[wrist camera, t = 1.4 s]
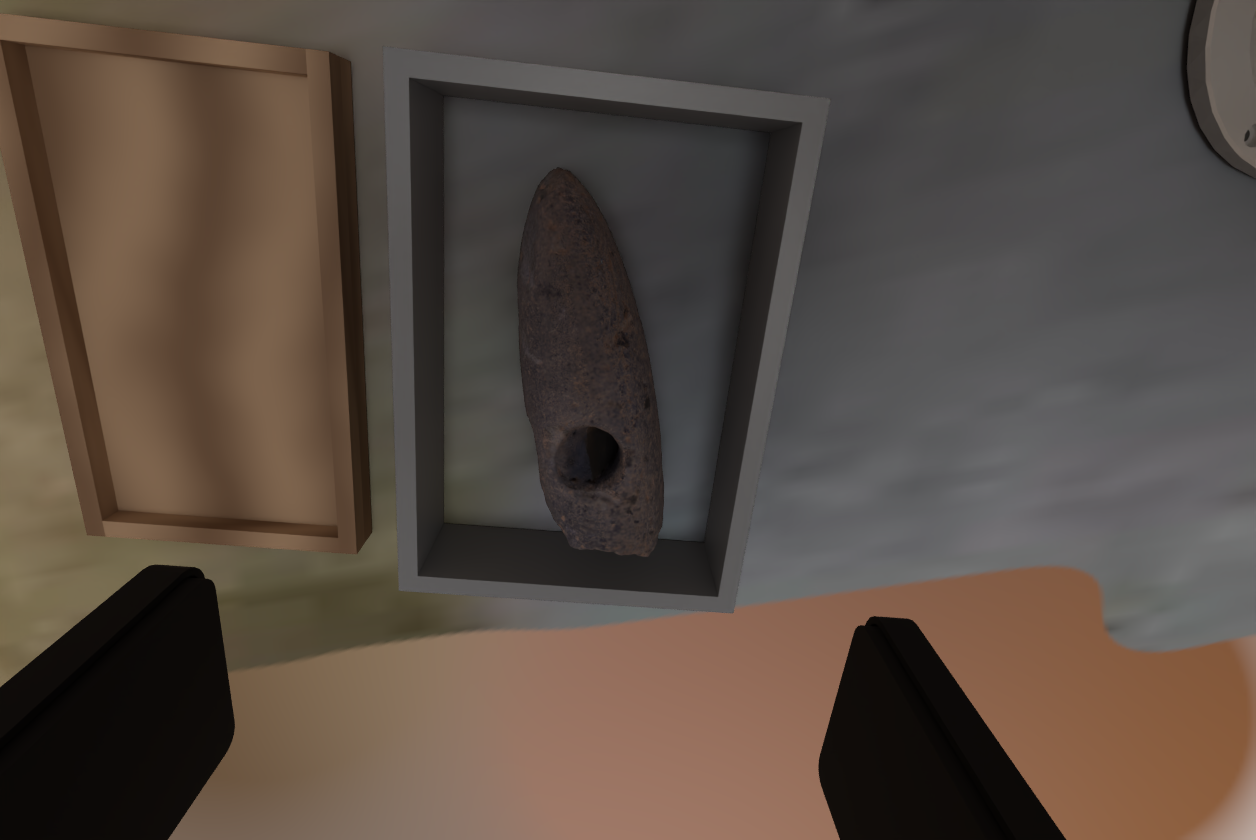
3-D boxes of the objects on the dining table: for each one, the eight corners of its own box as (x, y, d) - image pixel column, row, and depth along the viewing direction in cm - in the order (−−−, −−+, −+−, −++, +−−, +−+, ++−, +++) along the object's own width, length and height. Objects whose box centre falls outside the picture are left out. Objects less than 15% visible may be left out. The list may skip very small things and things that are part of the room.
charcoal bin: (794, 112, 25) (831, 98, 21) (717, 557, 32) (733, 613, 28) (422, 70, 24) (383, 46, 20) (427, 536, 31) (399, 590, 27)
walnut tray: (350, 61, 24) (328, 51, 22) (372, 532, 31) (356, 554, 29) (20, 23, 24) (-31, 9, 22) (119, 513, 31) (87, 535, 29)
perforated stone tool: (503, 175, 26) (467, 172, 19) (631, 161, 26) (638, 153, 19) (556, 501, 31) (541, 585, 25) (662, 490, 31) (676, 571, 25)
